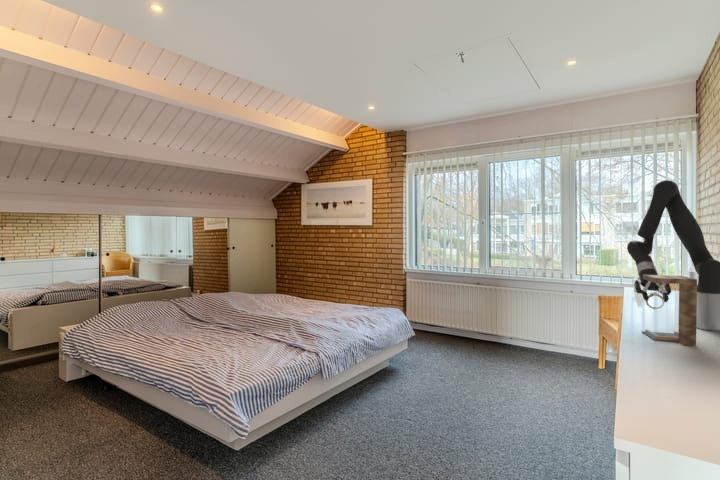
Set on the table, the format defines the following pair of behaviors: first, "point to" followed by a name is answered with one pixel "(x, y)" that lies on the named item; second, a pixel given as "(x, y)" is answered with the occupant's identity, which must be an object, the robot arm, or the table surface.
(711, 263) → the robot arm
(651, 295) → the ring
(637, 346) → the table surface
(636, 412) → the table surface
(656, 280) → the shelf
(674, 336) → the seat
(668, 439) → the table surface
